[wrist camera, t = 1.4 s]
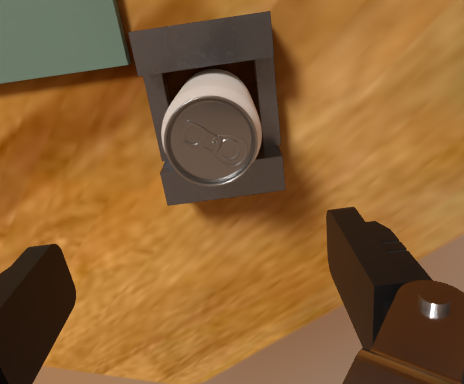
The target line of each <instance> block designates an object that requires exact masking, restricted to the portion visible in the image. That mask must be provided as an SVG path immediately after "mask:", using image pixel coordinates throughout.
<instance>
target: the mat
mask: <svg viewBox="0 0 464 384" xmlns="http://www.w3.org/2000/svg"><path fill="white" fill-rule="evenodd" d="M129 64H131V60H130V56H129V52H128V47H127V43H126V39H125V34H124V30H123V26H122V21H121V17H120V13H119V9H118V4H117V0H0V84H1V83H8V82H15V81H22V80H28V79H35V78H42V77H49V76H56V75H63V74H69V73H76V72H83V71H90V70H97V69H104V68H110V67H117V66H124V65H129Z"/></svg>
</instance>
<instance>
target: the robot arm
mask: <svg viewBox="0 0 464 384" xmlns="http://www.w3.org/2000/svg"><path fill="white" fill-rule="evenodd" d="M326 221H327V251H328V263H329V268H330V272H331V276H332V278H333V280H334V283H335V285H336V287H337V290H338V292H339V294H340V296H341V299H342V301H343V303H344V306H345V308H346V310H347V312H348V314H349V317H350V319H351V321H352V324H353V326H354V328H355V331H356V333H357V335H358V338H359V340H360V342H361V344H362V347H363V348H362V349H361V350H360V351H359V352H358V354H357V355H356V357H355V359H354V362H353V363H352V365H351V367H350V369H349V371H348V374H347V375H346V377H345V379H344V382H343V384H464V293H463V292H462V291H460V290H459V289H457V288H455V287H453V286H451V285H448V284H445V283H442V282H437V281H433V280H432V279H431V278H430V277H429V276H428V274H427V273H426V272H425V270H424V269H423V268H422V267H421V266H420V264H418V262H417V261H416V260H415V258H414V257H413V256H412V255H411V254H410V252H409V251H407V250H406V248H405V246H404V245H403V244H402V243H401V242H399V239H398V238H397V237H396V236H395V234H394V233H393V232H392V231H391V230H390V229H389V228H387V227H385V226H383V225H381V224H380V223H378V222H376V221H372V222H365V221H364V219H363V218H362V217H361V215H360V214H359V213H358V211H357V210H356V209H355V207H348V208H340V209H332V210H328V211H327V216H326ZM75 301H76V289H75V285H74V283H73V280H72V277H71V274H70V272H69V269H68V266H67V264H66V261H65V258H64V255H63V253H62V250H61V248H60V247H59V246H58V245H56V244H49V245H42V246H34V247H29V248H27V249H26V250H25V251H24V252H23V253H22V254H21V256H20V257H19V258H18V259H17V260H16V261H15V262H14V263H13V264H12V266H11V267H9V268H8V269H6V270H5V271H3V272H2V273H1V274H0V384H32V383H33V382H34V380H35V378H36V376H37V374H38V372H39V371H40V369H41V367H42V365H43V363H44V361H45V359H46V358H47V356H48V354H49V352H50V350H51V348H52V346H53V345H54V343H55V341H56V339H57V337H58V335H59V333H60V332H61V330H62V328H63V326H64V324H65V322H66V321H67V319H68V317H69V315H70V313H71V311H72V309H73V307H74V305H75Z"/></svg>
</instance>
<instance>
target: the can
mask: <svg viewBox="0 0 464 384" xmlns="http://www.w3.org/2000/svg"><path fill="white" fill-rule="evenodd" d="M161 137H162V144H163V148H164V151H165V153H166V155H167V158H168V160H169V162H170V164H171V165H172V167H173V168H174V169H175V170H176V172H177V173H178V174H180V175H181V176H182V177H183V178H185V179H186V180H188V181H190V182H192V183H195V184H197V185H201V186H208V187H215V186H222V185H226V184H229V183H231V182H233V181H235V180H237V179H238V178H240V177H241V176H242V175H243V174H244V173H245V172H246V171H247V170H248V169H249V167H250V166H251V164H252V163H253V162H254V160H255V158H256V157H257V155H258V152H259V149H260V146H261V139H262V129H261V123H260V119H259V116H258V113H257V110H256V108H255V105H254V103H253V100H252V98H251V96H250V93H249V91H248V89H247V87H246V86H245V84H244V83H243V82H242V81H241V80H240V79H239V78H238V77H237V76H236V75H234V74H232V73H230V72H228V71H225V70H222V69H207V70H203V71H201V72H198V73H197V74H195V75H193V76H192V77H191V78H190V79H189V80H188V81H187V82H186V83H185V84H184V86H183V87H182V88H181V90H180V91H179V92H178V94H177V95H176V97H175V98H174V100H173V101H172V103H171V104H170V106H169V107H168V109H167V111H166V113H165V116H164V119H163V123H162V130H161Z"/></svg>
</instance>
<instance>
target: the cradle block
mask: <svg viewBox="0 0 464 384" xmlns="http://www.w3.org/2000/svg"><path fill="white" fill-rule="evenodd" d="M128 34H129V38H130V43H131V47H132V51H133V56H134V60H135V65H136V69H137V73H138V76H143V78H144V82H145V87H146V91H147V96H148V100H149V105H150V109H151V114H152V118H153V123H154V127H155V132H156V136H157V141H158V145H159V150H160V154H161V158H162V161H165V163H164V165H163V168H162V170H161V172H160V174H161V179H162V183H163V187H164V192H165V196H166V201H167V205H168V206H169V205H177V204H184V203H192V202H199V201H207V200H215V199H222V198H230V197H237V196H245V195H252V194H260V193H267V192H275V191H283V190H285V179H284V167H283V156H282V154H281V152H280V150H279V147H278V145H281V139H280V127H279V116H278V104H277V93H276V81H275V69H274V58H273V57H274V50H273V38H272V27H271V15H270V11H267V12H261V13H254V14H247V15H241V16H234V17H227V18H221V19H214V20H207V21H201V22H194V23H187V24H181V25H174V26H167V27H161V28H154V29H147V30H140V31H134V32H128ZM248 60H253V63H254V72H255V81H256V91H257V100H258V109H259V119H260V123H261V129H262V141H261V146H260V149H259V152H258V155H257V157H256V158H255V160H254V162H253V163H252V164H251V166H250V167H249V169H248V170H247V171H246V172H245V173H244V174H243V175H242V176H241V177H240V178H238V179H237V180H235V181H233V182H231V183H229V184H226V185H222V186H215V187H208V186H201V185H197V184H195V183H192V182H190V181H188V180H186V179H185V178H183V177H182V176H181V175H180V174H178V173H177V172H176V170H175V169H174V168H173V167H172V165H171V164H170V162H169V160H168V158H167V155H166V153H165V151H164V148H163V144H162V137H161V130H162V123H163V119H164V116H165V113H166V111H167V109H168V107H169V106H170V104H171V99H170V94H169V89H168V84H167V79H166V74H165V73H166V72H173V71H180V70H186V69H193V68H200V67H207V66H214V65H221V64H228V63H235V62H242V61H248Z"/></svg>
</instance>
